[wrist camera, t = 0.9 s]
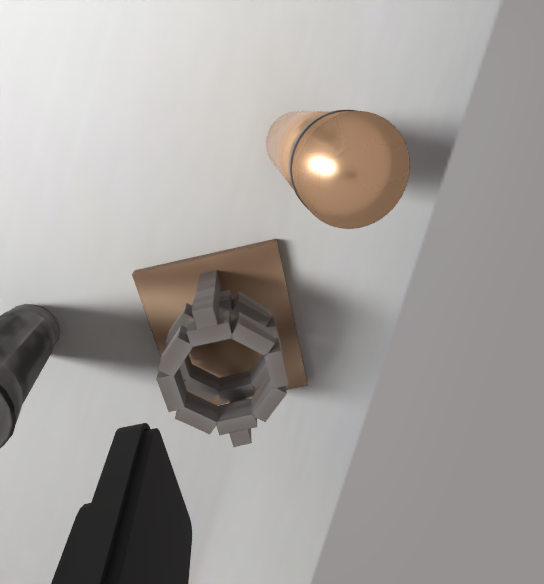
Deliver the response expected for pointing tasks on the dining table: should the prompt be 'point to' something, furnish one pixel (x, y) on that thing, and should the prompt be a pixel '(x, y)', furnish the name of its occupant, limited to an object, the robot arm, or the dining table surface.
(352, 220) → the copper tube
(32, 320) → the beverage cup
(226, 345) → the collar stand
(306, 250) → the dining table surface
